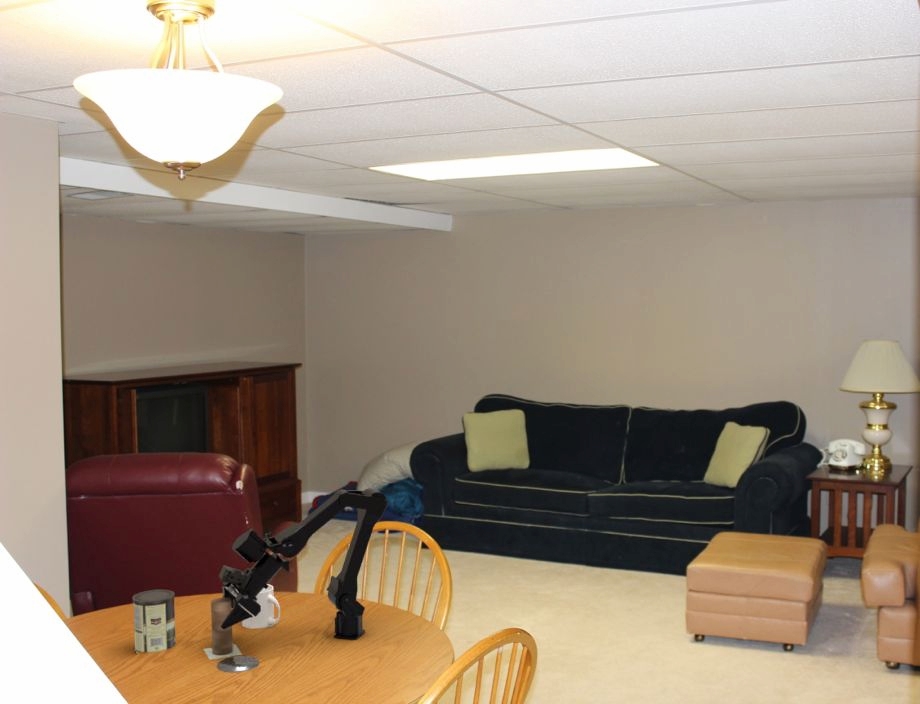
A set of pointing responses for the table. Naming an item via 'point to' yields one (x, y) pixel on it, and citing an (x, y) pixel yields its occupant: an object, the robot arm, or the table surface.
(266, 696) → the table surface
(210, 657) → the stand
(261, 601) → the mug
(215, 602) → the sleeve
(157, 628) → the coffee can
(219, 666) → the grey saucer
